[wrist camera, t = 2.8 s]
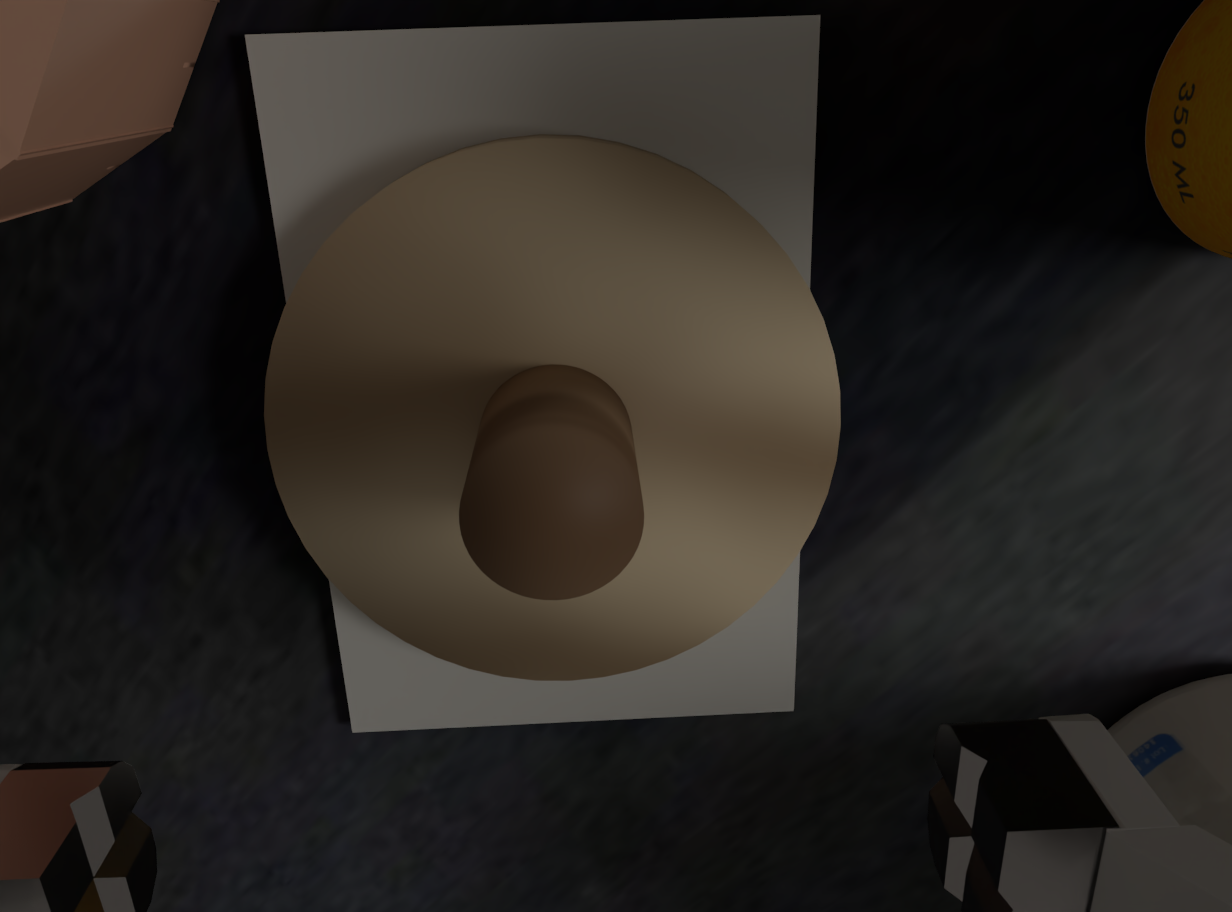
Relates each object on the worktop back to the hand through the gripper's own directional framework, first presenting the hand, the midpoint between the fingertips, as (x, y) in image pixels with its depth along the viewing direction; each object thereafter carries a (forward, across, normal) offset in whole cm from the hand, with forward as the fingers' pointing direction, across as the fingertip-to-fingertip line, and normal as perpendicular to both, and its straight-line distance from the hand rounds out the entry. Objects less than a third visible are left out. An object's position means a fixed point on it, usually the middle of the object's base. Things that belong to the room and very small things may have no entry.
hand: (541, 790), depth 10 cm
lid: (+13, 0, -1) cm, 13 cm away
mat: (+13, 0, -1) cm, 13 cm away
